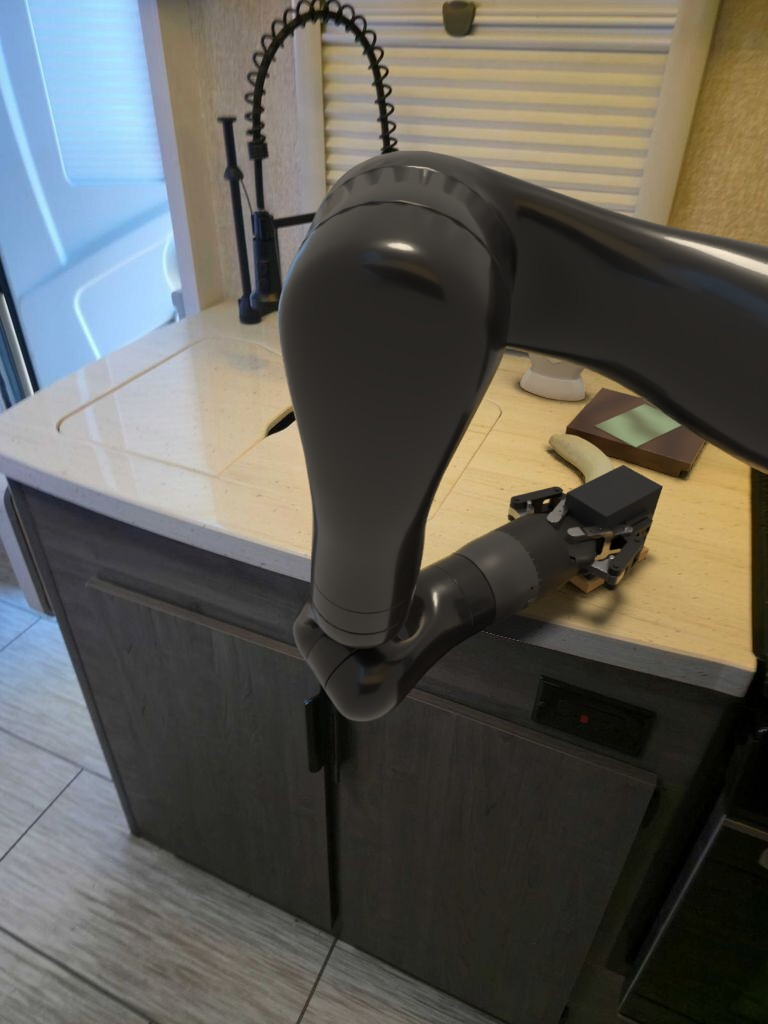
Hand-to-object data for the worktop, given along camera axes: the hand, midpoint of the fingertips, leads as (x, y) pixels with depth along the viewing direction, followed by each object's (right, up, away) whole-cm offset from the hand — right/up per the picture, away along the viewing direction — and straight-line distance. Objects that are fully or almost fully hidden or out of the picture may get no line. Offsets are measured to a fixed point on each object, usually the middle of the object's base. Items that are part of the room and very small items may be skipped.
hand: (624, 506), depth 68 cm
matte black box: (-2, -6, +2) cm, 7 cm away
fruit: (-1, +3, +14) cm, 15 cm away
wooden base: (+10, +9, +23) cm, 27 cm away
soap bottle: (0, +17, +33) cm, 37 cm away
